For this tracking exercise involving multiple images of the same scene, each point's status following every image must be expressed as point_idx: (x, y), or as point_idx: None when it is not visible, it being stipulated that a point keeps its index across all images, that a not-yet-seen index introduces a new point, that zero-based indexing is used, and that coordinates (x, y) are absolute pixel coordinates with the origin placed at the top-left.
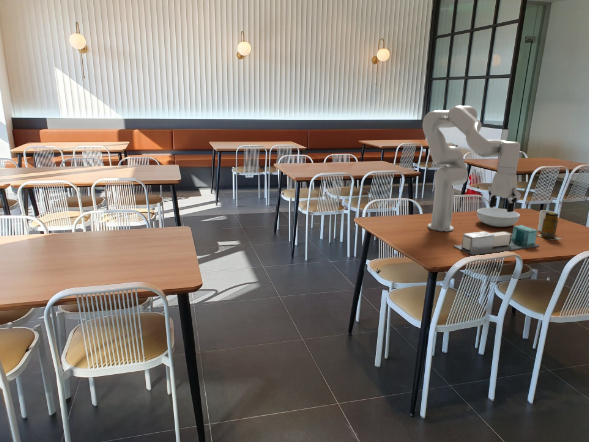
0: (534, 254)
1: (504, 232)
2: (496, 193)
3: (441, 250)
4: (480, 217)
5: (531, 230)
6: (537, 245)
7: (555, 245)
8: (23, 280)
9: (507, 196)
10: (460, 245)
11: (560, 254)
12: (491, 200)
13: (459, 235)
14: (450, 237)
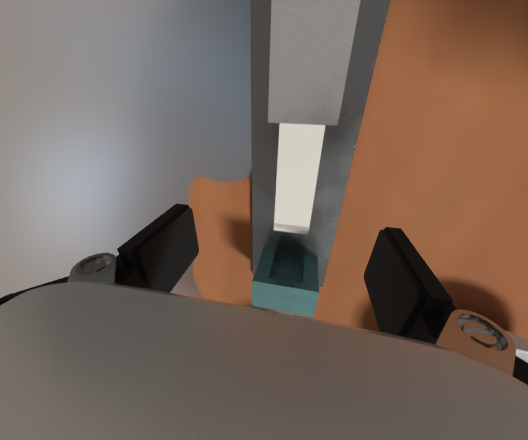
0: (208, 211)
1: (299, 221)
2: (305, 368)
3: None
4: (513, 336)
5: (256, 291)
6: (253, 270)
7: (247, 304)
8: None
9: (12, 302)
10: None
11: (197, 262)
12: (413, 274)
13: (492, 138)
14: (520, 57)
